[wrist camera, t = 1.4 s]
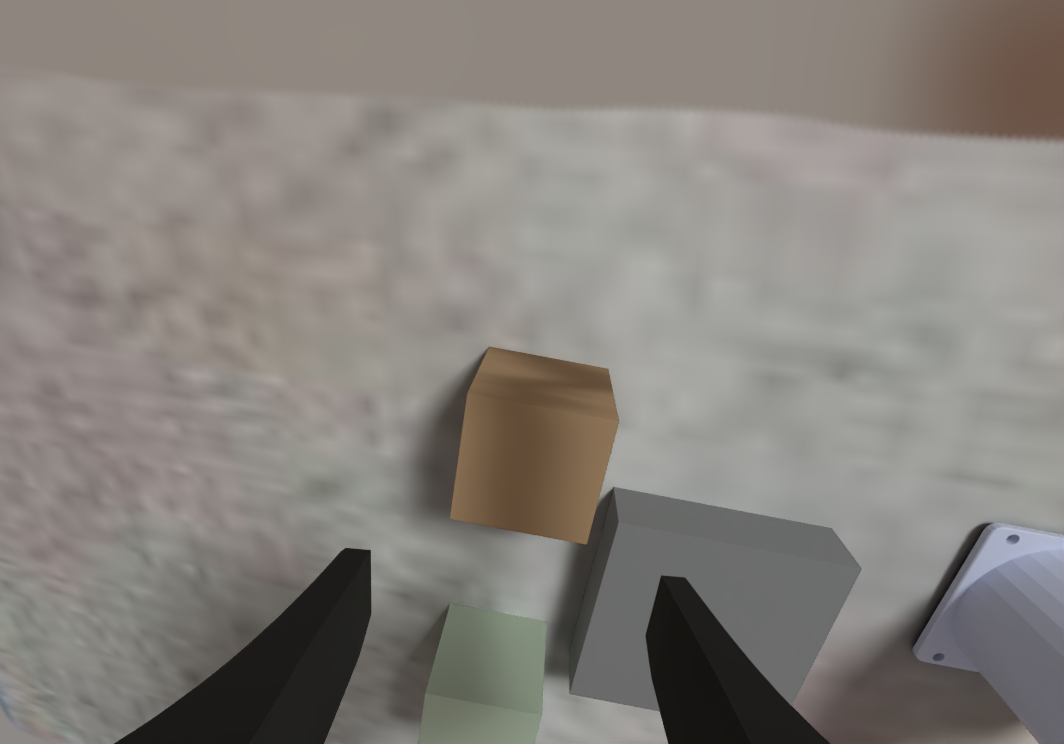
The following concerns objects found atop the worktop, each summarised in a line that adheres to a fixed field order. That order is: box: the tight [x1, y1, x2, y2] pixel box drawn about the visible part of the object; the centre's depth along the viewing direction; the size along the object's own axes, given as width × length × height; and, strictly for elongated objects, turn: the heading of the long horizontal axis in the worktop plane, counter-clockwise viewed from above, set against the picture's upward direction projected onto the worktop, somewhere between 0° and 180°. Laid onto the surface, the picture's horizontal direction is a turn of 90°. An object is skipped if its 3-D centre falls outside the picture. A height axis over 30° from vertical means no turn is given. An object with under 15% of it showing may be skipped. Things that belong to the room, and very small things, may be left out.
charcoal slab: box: [570, 487, 862, 711], centre depth 24 cm, size 10×10×3 cm
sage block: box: [418, 603, 547, 744], centre depth 25 cm, size 5×5×5 cm
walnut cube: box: [450, 347, 619, 545], centre depth 20 cm, size 5×5×5 cm
